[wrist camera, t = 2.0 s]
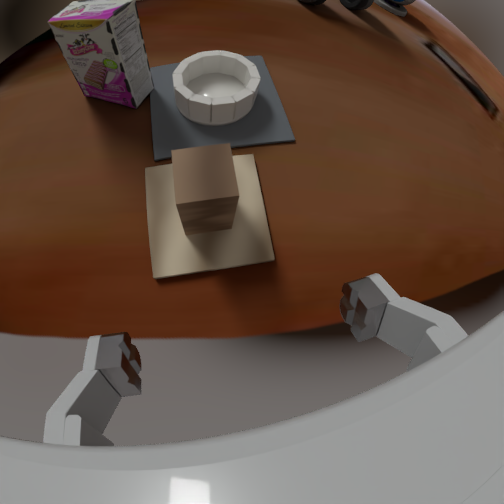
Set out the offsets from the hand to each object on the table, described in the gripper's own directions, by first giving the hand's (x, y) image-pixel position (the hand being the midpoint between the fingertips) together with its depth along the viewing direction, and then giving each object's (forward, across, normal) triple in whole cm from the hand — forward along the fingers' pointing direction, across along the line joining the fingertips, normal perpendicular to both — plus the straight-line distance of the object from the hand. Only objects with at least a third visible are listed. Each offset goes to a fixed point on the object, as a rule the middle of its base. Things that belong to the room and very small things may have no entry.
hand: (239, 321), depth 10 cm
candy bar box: (+38, +10, -10) cm, 40 cm away
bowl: (+34, -4, -6) cm, 35 cm away
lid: (+23, 0, +6) cm, 24 cm away
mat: (+34, -4, -6) cm, 35 cm away
